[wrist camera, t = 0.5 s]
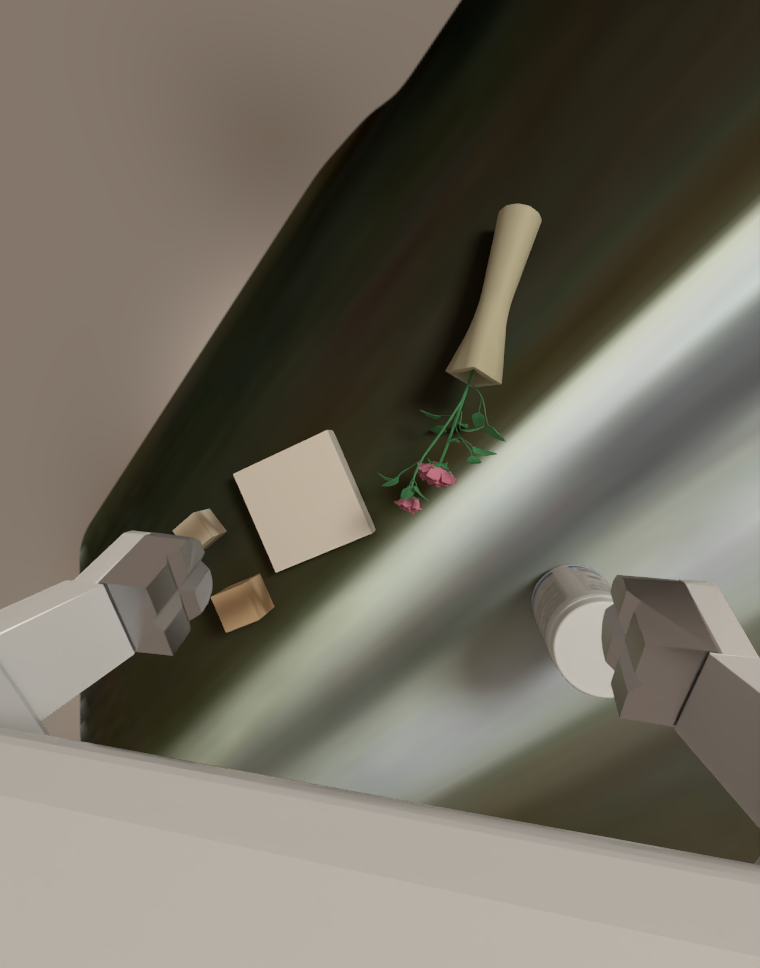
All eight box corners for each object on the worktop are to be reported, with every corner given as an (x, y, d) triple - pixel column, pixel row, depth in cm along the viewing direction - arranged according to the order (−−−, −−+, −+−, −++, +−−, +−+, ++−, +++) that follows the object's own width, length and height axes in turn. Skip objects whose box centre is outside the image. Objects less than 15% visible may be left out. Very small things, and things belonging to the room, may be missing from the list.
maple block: (227, 531, 67) (211, 537, 63) (206, 548, 67) (190, 554, 63) (209, 508, 67) (193, 512, 63) (189, 525, 68) (172, 530, 64)
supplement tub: (552, 650, 60) (577, 716, 45) (516, 582, 60) (530, 626, 45) (628, 619, 58) (681, 678, 43) (591, 548, 58) (631, 583, 43)
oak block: (274, 606, 66) (258, 620, 61) (244, 618, 67) (226, 632, 62) (260, 573, 66) (243, 583, 61) (229, 585, 67) (210, 597, 62)
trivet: (375, 529, 62) (371, 533, 60) (283, 567, 65) (275, 572, 63) (332, 430, 62) (327, 429, 60) (241, 472, 65) (233, 474, 63)
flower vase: (531, 275, 63) (458, 531, 60) (445, 240, 62) (365, 502, 58) (584, 223, 52) (496, 537, 49) (480, 178, 50) (382, 501, 47)
